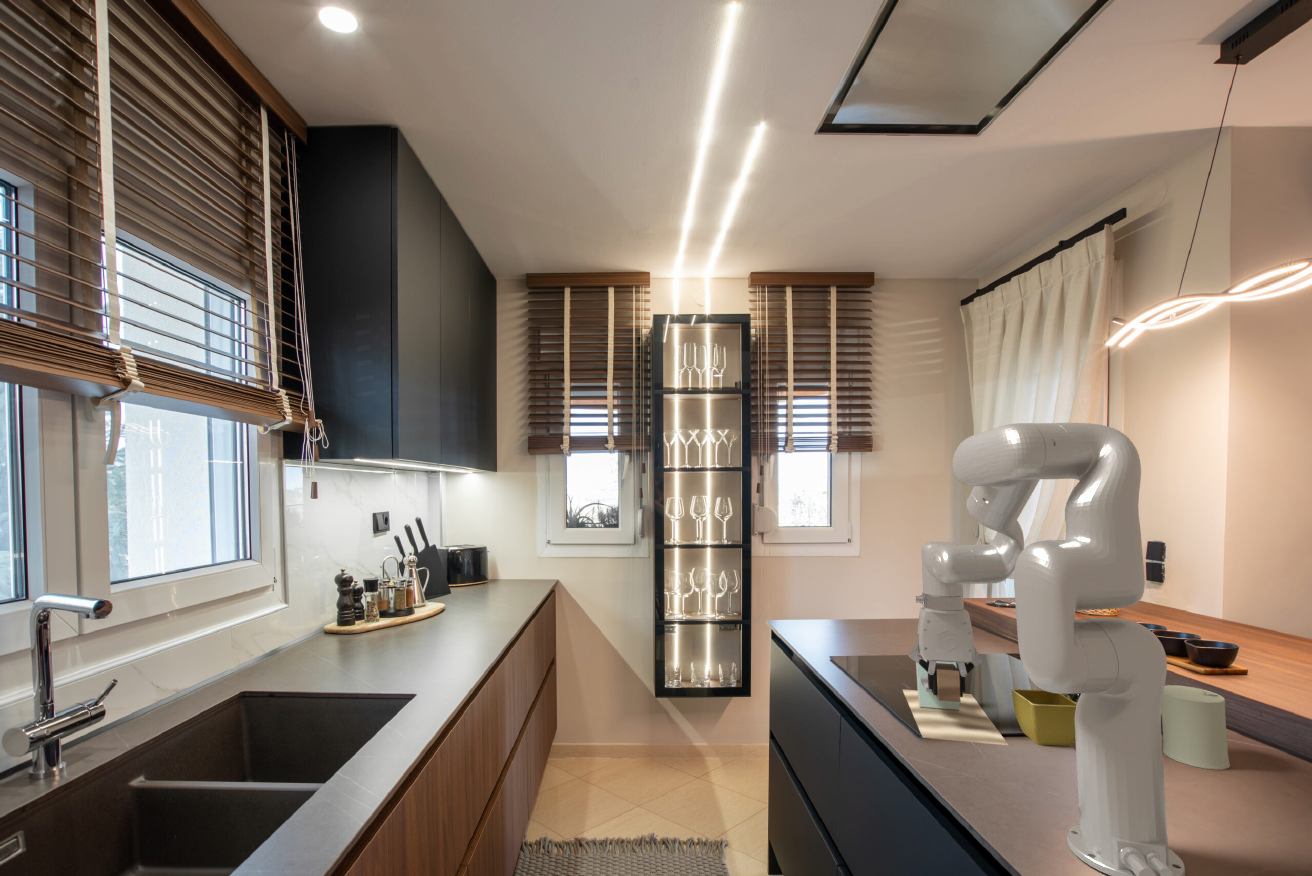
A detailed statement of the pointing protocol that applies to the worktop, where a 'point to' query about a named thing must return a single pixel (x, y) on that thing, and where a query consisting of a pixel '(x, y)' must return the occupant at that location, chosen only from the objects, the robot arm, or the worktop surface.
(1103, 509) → the robot arm
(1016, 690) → the flower pot
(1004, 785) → the worktop surface
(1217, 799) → the worktop surface
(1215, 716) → the can
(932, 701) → the tile
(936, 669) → the block on grey plate
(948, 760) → the worktop surface
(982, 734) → the board
